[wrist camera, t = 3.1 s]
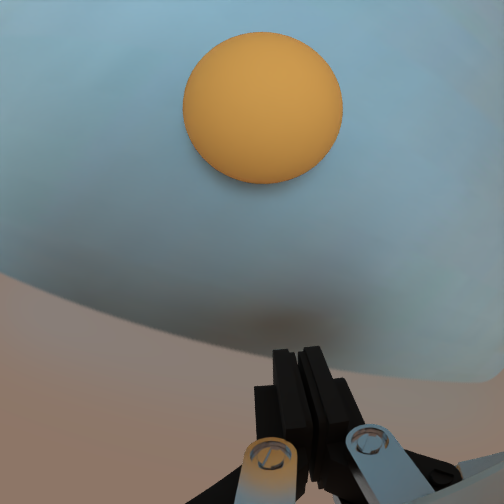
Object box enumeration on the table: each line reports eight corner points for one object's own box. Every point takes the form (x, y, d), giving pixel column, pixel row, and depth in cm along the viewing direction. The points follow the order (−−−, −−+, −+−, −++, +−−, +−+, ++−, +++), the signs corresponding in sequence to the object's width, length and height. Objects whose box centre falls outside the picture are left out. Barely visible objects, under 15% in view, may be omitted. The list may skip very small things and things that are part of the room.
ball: (197, 184, 15) (172, 196, 9) (192, 65, 13) (167, 11, 7) (322, 178, 15) (372, 186, 9) (315, 61, 13) (356, 11, 8)
